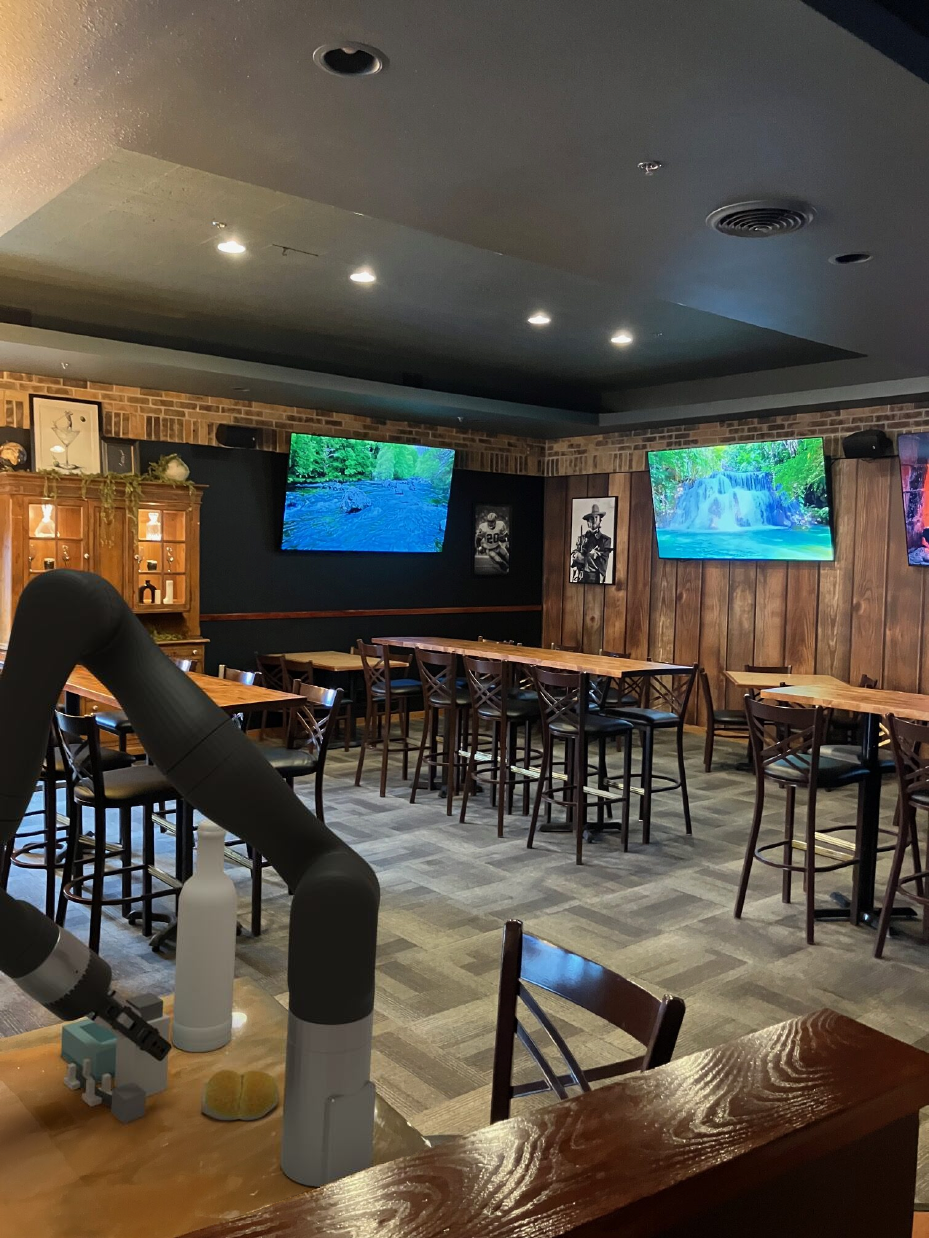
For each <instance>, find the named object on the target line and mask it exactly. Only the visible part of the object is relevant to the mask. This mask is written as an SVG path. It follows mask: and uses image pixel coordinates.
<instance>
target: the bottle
mask: <svg viewBox="0 0 929 1238" xmlns="http://www.w3.org/2000/svg"><path fill="white" fill-rule="evenodd" d="M226 835H227V831H226V830H225V829H223V828H222V827H220V826H218V825H217V824H215V823H214V822H212V821H211V820H209V819H208V818H207V819H203V820H201V821H199V822H198V824H197V830H196V836H197V842H196V843H197V844H196V846H197V847H196V863H195V873H193V875H192V876H190V877H189V878H188V879H187V880H185V882H184V883H183V886H182V889H181V891H180V894H179V896H178V906H177V907H178V908H177V909H178V910H177V929H176V930H177V931H176V949H175V950H176V951H175V953H176V954H175V975H174V991H173V992H174V995H173V1015H172V1021H171V1032H172V1034H171V1035H172V1037H171V1038H172V1039H171V1040H172V1044H173V1045H174V1046H175V1047H176V1048H177V1049H179V1050H181V1049H182V1051H184V1052H190V1053H205V1052H212V1051H215V1050H217V1049H219V1048H222V1047H224V1046H225V1045H227V1044H228V1043H229V1042H230V1040H231V1037H232V1028H233V1000H234V984H235V983H234V979H235V978H234V977H235V960H236V959H235V957H236V939H237V938H236V937H237V921H238V920H237V919H238V900H239V899H238V893H237V890H236V887H235V884H234V881H233V880H232V878H230V877H229V876H228V875H227V874H226V873H225V872H224V865H225V863H224V862H225V845H226V844H225V843H226Z"/></svg>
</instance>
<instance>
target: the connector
mask: <svg viewBox="0 0 929 1238" xmlns="http://www.w3.org/2000/svg"><path fill="white" fill-rule="evenodd" d="M125 1001H126V1002H127V1003H128V1004H130V1005H131V1006H132V1007H134V1008H135V1009H136V1010H138V1011H139V1012H140V1013H141V1018H142V1019H143V1020H145V1021H146V1022H147V1023H148V1024H150V1025H152V1026H153V1027H154V1028H157V1029H158V1032H160V1034H159V1035H160V1036H161V1037H163V1038H164V1039H165V1040H166V1041H168V1042H169V1043H170V1026H171V1016H169V1015H167V1014H166V1013H165V1012H164V1000H163V999H161V998H159V997H158V996H157V995H155V994H154V993H152V992H146V993H143V994H140V995H136V996H133V997H129V998H126V999H125ZM145 1029H146V1028H145ZM143 1030H144V1029H143ZM143 1030H142V1031H143ZM142 1031H141V1032H142ZM140 1034H141V1033H140ZM140 1034H139V1035H140ZM139 1035H138V1036H139ZM137 1038H138V1037H137ZM135 1045H136V1044H134V1043H133V1042H132V1041H130V1040H129V1039H128V1038H124V1039H120V1038H118V1037H117V1043H116V1065H115V1078H114V1089H115V1088H118V1087H121V1086H124V1085H126V1084H129V1083H132V1082H134V1083H135V1084H136V1085H138V1086H139V1087H140V1088H141V1089H143V1090H144V1091H145V1092H146V1097H149V1096H152V1095H155V1094H157V1093H161V1092H164V1091H166V1090H167V1089H168V1086H167V1085H168V1073H169V1072H168V1067H169V1053H168V1054H167V1055H166V1056H165V1058H164V1059H163V1060H162V1061H158V1060H157V1059H155V1058H154V1057H153V1056H151V1055H150V1054H149V1053H147V1052H145V1051H144V1050H143V1051H142V1050H140V1049H139V1048H140V1047H139V1048H137V1047H136V1046H135ZM165 1089H166V1090H165ZM163 1090H164V1091H163ZM160 1091H161V1092H160Z"/></svg>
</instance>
